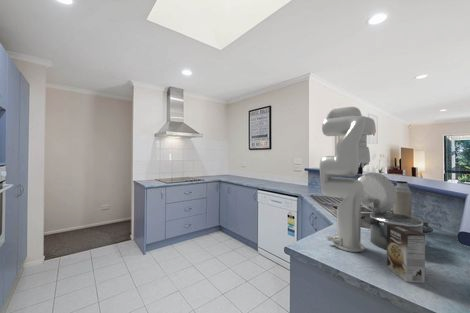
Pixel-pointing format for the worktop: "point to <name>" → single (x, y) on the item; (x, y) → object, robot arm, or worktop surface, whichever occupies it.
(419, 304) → the worktop surface
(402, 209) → the thermos bottle
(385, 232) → the pot
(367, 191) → the lid
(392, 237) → the coffee box
